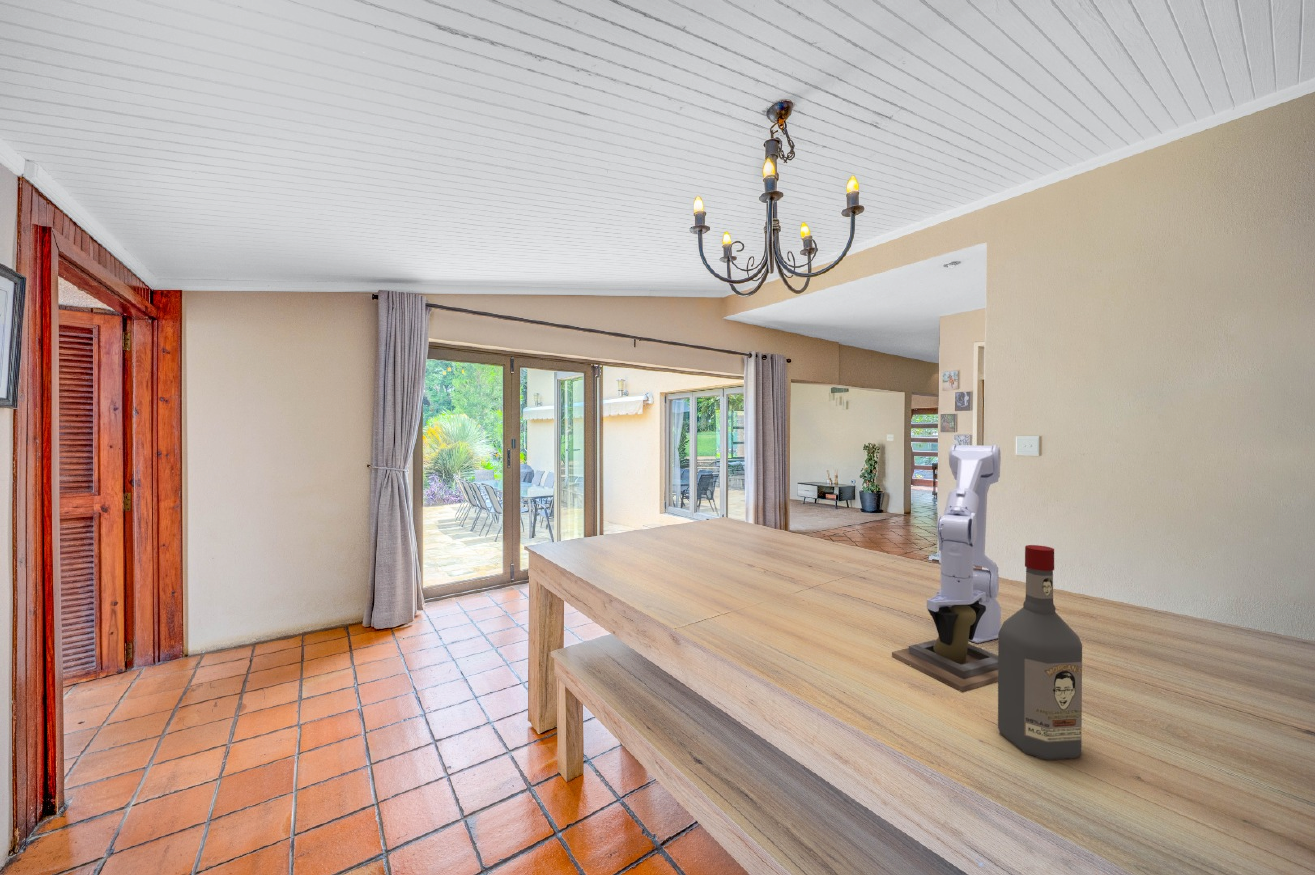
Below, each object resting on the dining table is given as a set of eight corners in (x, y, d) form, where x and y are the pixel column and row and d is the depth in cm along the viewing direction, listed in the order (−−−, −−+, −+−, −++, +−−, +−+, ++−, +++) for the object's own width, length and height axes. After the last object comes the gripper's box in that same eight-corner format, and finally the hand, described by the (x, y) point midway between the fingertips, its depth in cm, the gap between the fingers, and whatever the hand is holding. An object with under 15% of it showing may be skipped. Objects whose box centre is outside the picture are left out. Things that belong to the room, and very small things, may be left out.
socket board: (952, 642, 117) (952, 631, 116) (1026, 673, 102) (1026, 660, 102) (891, 656, 110) (891, 644, 110) (962, 692, 95) (962, 678, 95)
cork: (971, 665, 104) (986, 617, 101) (941, 660, 104) (954, 612, 101) (957, 646, 110) (971, 600, 107) (928, 642, 110) (941, 596, 107)
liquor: (989, 726, 84) (989, 542, 83) (1041, 723, 85) (1042, 540, 84) (1034, 763, 75) (1035, 556, 74) (1093, 759, 76) (1094, 554, 75)
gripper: (963, 565, 112) (963, 628, 112) (913, 573, 106) (913, 639, 107) (995, 573, 105) (995, 640, 106) (944, 582, 100) (944, 653, 100)
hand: (956, 640), depth 106 cm, fingers open, 6 cm apart
